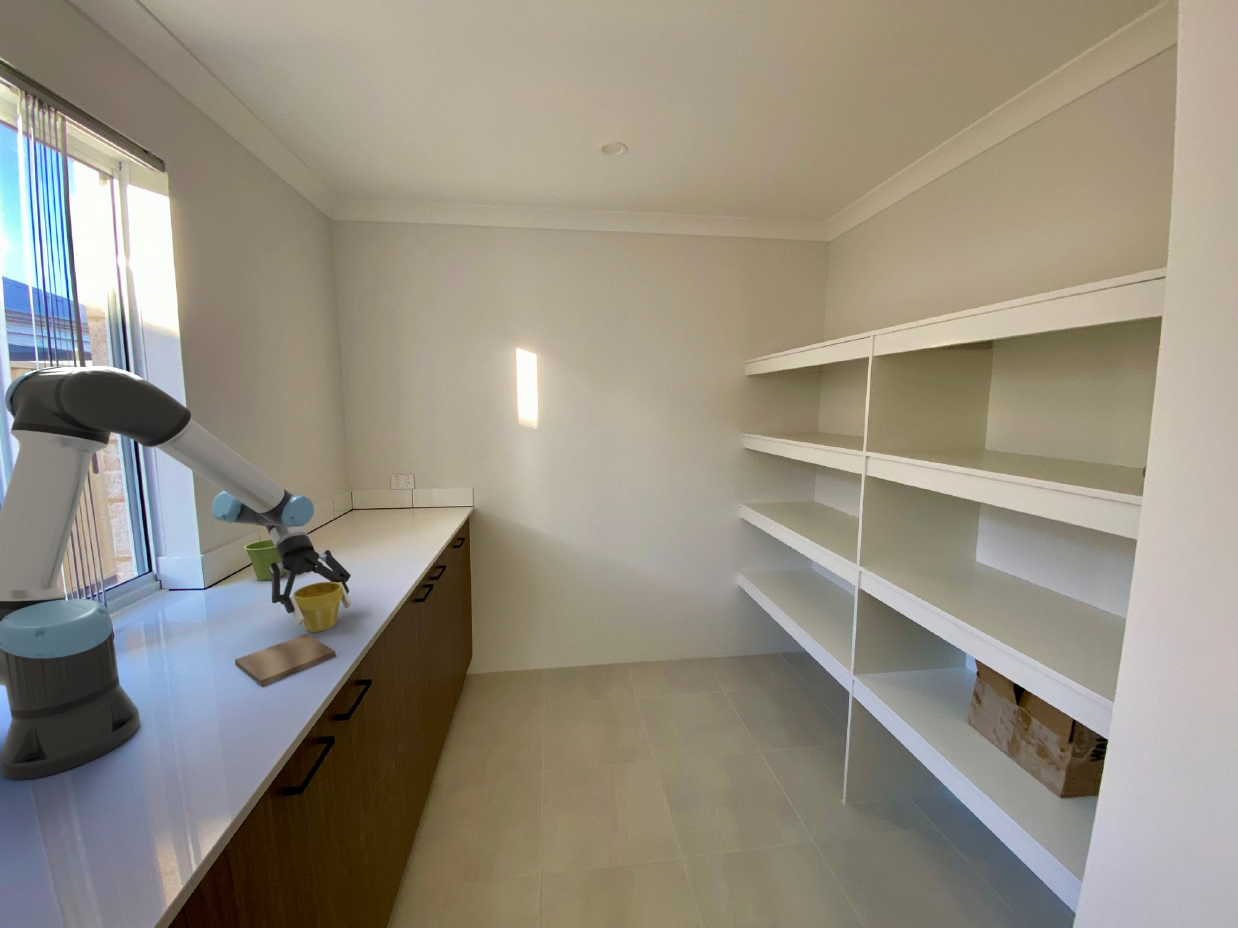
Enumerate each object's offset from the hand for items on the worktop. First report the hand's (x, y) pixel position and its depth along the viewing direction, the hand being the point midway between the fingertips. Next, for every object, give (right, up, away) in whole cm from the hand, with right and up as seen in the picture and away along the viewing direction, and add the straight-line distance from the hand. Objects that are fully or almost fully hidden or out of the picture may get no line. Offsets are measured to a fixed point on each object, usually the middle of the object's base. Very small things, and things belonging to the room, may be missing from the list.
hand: (325, 613), depth 119 cm
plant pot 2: (-2, -4, +2) cm, 5 cm away
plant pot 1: (-40, 0, +37) cm, 55 cm away
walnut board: (0, -6, -14) cm, 15 cm away
